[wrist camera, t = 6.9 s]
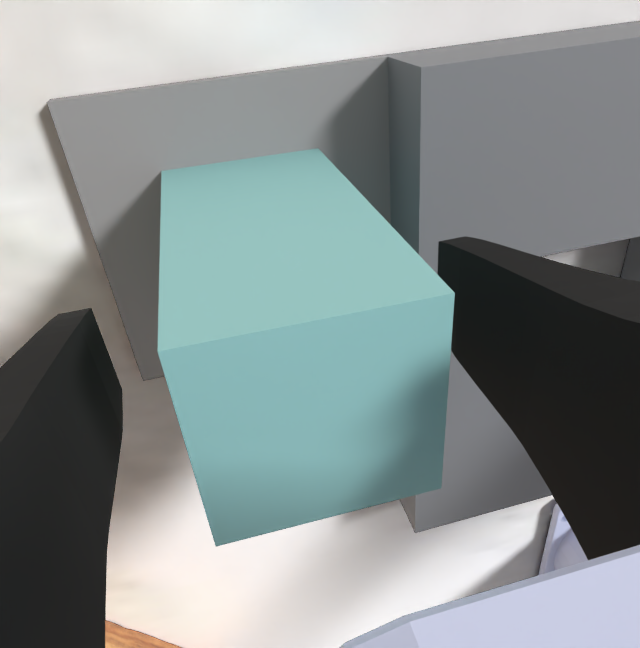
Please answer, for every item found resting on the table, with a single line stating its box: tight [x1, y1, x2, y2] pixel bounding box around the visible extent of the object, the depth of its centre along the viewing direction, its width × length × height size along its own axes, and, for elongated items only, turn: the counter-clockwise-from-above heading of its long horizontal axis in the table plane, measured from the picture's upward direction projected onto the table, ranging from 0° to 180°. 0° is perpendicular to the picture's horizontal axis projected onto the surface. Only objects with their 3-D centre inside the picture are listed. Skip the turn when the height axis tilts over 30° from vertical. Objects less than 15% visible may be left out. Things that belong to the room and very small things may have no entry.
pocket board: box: [384, 21, 640, 533], centre depth 18 cm, size 16×12×2 cm
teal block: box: [158, 148, 455, 546], centre depth 11 cm, size 4×4×8 cm
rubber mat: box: [47, 55, 391, 381], centre depth 15 cm, size 8×8×1 cm
